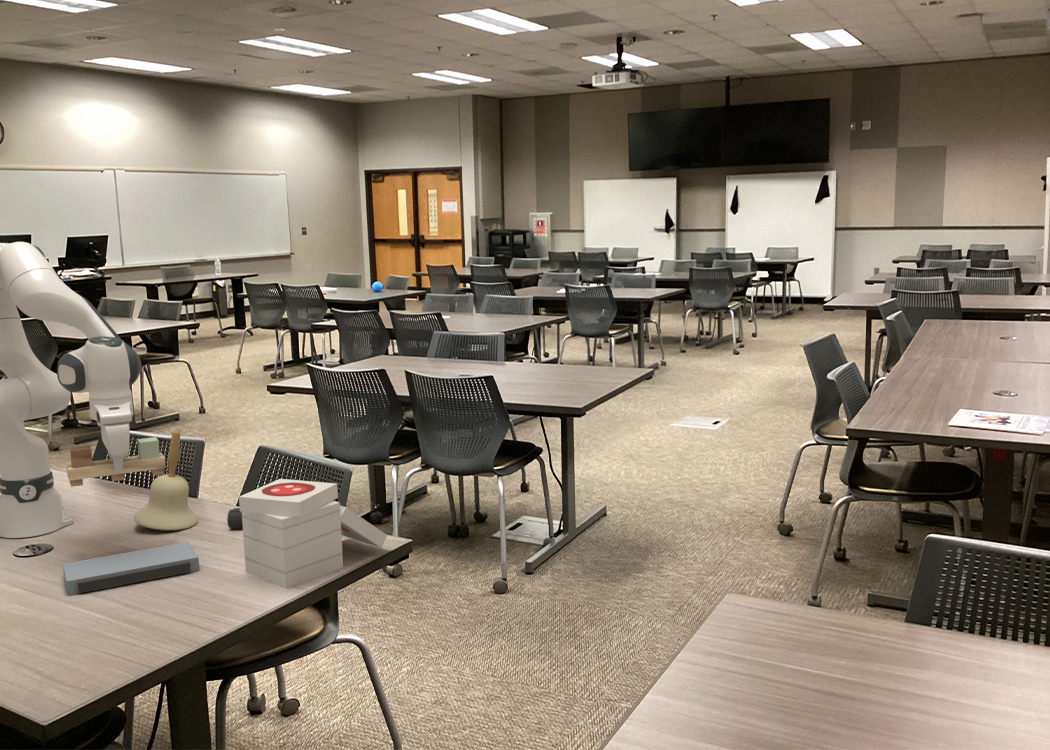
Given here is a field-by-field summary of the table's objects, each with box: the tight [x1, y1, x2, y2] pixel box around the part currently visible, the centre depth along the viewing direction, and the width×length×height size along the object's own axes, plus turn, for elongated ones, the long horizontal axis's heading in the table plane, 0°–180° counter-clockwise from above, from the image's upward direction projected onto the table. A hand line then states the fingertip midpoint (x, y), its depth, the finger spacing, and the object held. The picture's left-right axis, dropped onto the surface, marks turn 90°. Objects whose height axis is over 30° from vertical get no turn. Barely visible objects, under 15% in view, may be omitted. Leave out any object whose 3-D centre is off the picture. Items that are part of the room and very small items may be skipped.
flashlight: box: [226, 507, 243, 530], centre depth 229 cm, size 15×5×5 cm, turn 89°
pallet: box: [66, 452, 166, 488], centre depth 207 cm, size 5×20×4 cm, turn 120°
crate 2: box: [136, 436, 161, 460], centre depth 210 cm, size 4×4×4 cm
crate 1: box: [69, 444, 93, 468], centre depth 203 cm, size 4×4×4 cm
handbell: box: [133, 430, 199, 531], centre depth 231 cm, size 15×15×25 cm
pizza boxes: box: [238, 478, 388, 589], centre depth 202 cm, size 19×30×18 cm, turn 140°
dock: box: [62, 541, 200, 596], centre depth 198 cm, size 13×26×3 cm, turn 120°
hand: (116, 469), depth 207 cm, fingers closed on pallet, 5 cm apart
